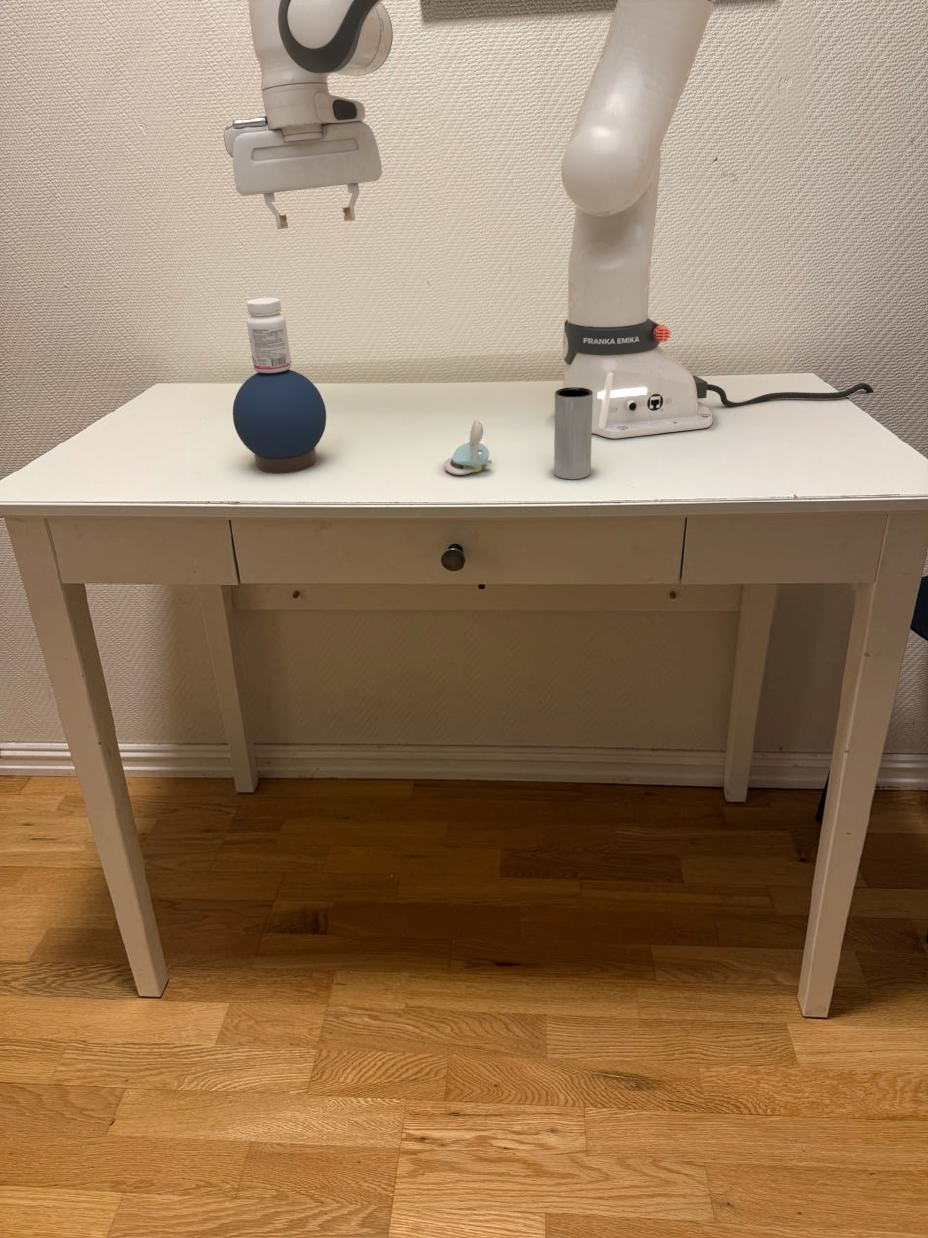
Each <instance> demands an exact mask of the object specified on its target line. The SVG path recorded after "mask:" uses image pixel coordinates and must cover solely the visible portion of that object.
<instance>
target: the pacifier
mask: <svg viewBox="0 0 928 1238" xmlns="http://www.w3.org/2000/svg"><path fill="white" fill-rule="evenodd" d="M470 429H471V430H470V435H469V442H466V443H464V444H463V443H462V444H461V445H460V446H458V447H457V448H456V449H455V451H454V452H453V454H452V457H449V458H448V459H447V460H445V462H444V465H443V467H444V470H445V471H447V472H448V473H450V474H453V475H460V476H463V475H467V474H471V473H478V472H481V471H482V470H483V466H485V465H489V464H492V460H491V459H489V456H490V452H489V451H490V450H489V448H488V447H487V446H486V445H485V444H483V443H481V441H482V439H483V435H484V427H483V424H482V423H481V422H480V420H478V419H474V421H473V423H472V426H471V428H470ZM453 464H457V465H460V466H462V468H456V467H454V466H452V465H453Z"/></svg>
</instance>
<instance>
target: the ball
mask: <svg viewBox="0 0 928 1238" xmlns="http://www.w3.org/2000/svg"><path fill="white" fill-rule="evenodd" d="M232 421H233V426H234V429H235V431H236V434H237V436H238V438H239V439H240V441H241V442H242V444H243V445H244V446H245V447H246V449H248V450H249V452H251V453H253V454H254V455H255V454H256V455H258V456H260V457H263V458H271V459H281V458H290V457H296V456H300V455H303V454H306V453H308V452H310V451H312V450H313V449H314V448H315V449H316V447H317V446H318V444H319V443H320V442H321V439H322V437H323V435H324V433H325V431H326V426H327V409H326V405H325V401H324V399H323V396H322V395H321V393H320V391H319V389H318V388H317V386H316V385H315V384H314V383H313V382H312V381H311V380H310V379H309V378H307V377H306V376H304V375H303V374H301V373H299V372H297V371H295V370H292V369H288V370H286V371H283V372H278V373H259V372H256V373H254V374H252V375H251V376H250V377H248V378H247V379H246V380H245V381H244V382H243V383H242V384H241V386H240V387H239V389H238V391H237V393H236V394H235V398H234V401H233V405H232Z"/></svg>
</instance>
